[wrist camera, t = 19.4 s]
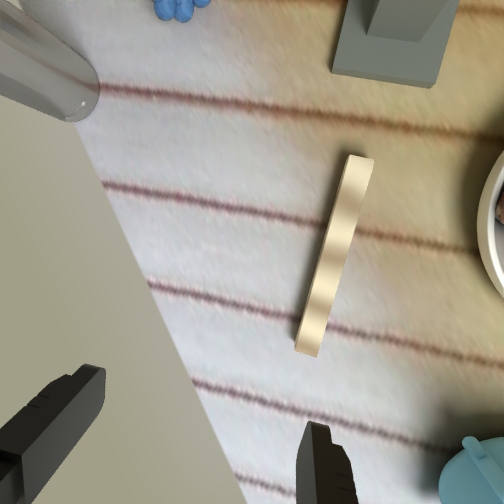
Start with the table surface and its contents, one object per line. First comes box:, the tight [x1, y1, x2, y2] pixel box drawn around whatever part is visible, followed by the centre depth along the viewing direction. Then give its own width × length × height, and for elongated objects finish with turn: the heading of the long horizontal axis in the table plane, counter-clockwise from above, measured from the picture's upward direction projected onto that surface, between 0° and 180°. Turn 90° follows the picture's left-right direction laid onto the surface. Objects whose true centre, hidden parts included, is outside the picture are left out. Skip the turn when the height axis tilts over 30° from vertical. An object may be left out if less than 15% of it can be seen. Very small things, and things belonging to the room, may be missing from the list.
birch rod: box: [295, 155, 375, 357], centre depth 39 cm, size 26×3×3 cm, turn 166°
